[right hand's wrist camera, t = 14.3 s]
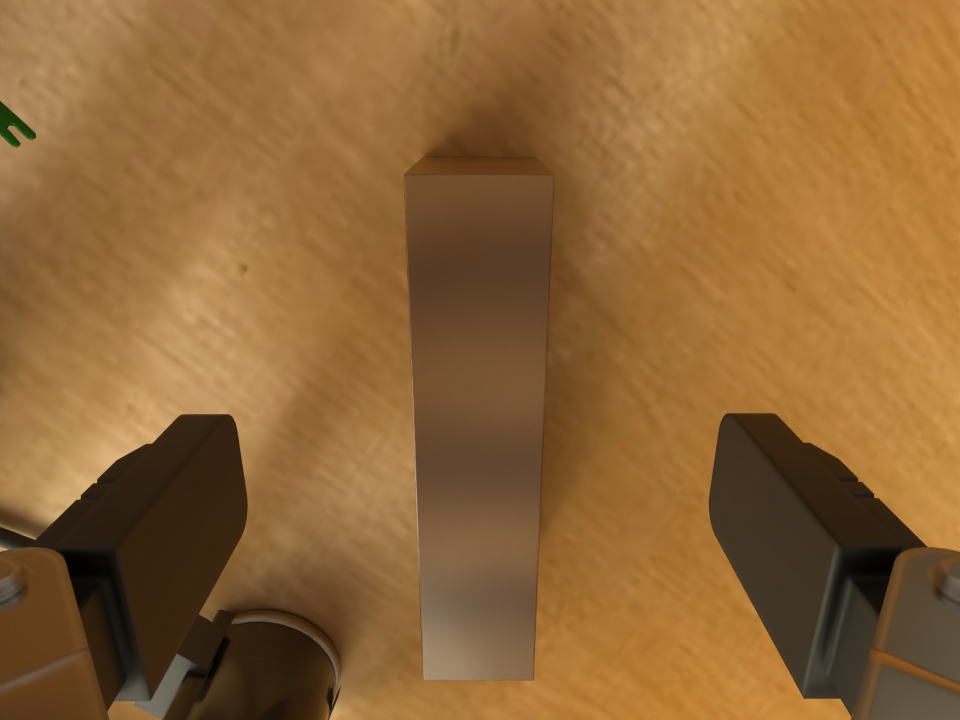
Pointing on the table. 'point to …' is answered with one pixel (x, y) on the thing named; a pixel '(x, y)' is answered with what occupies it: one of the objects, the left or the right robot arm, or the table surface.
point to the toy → (5, 117)
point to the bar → (478, 406)
